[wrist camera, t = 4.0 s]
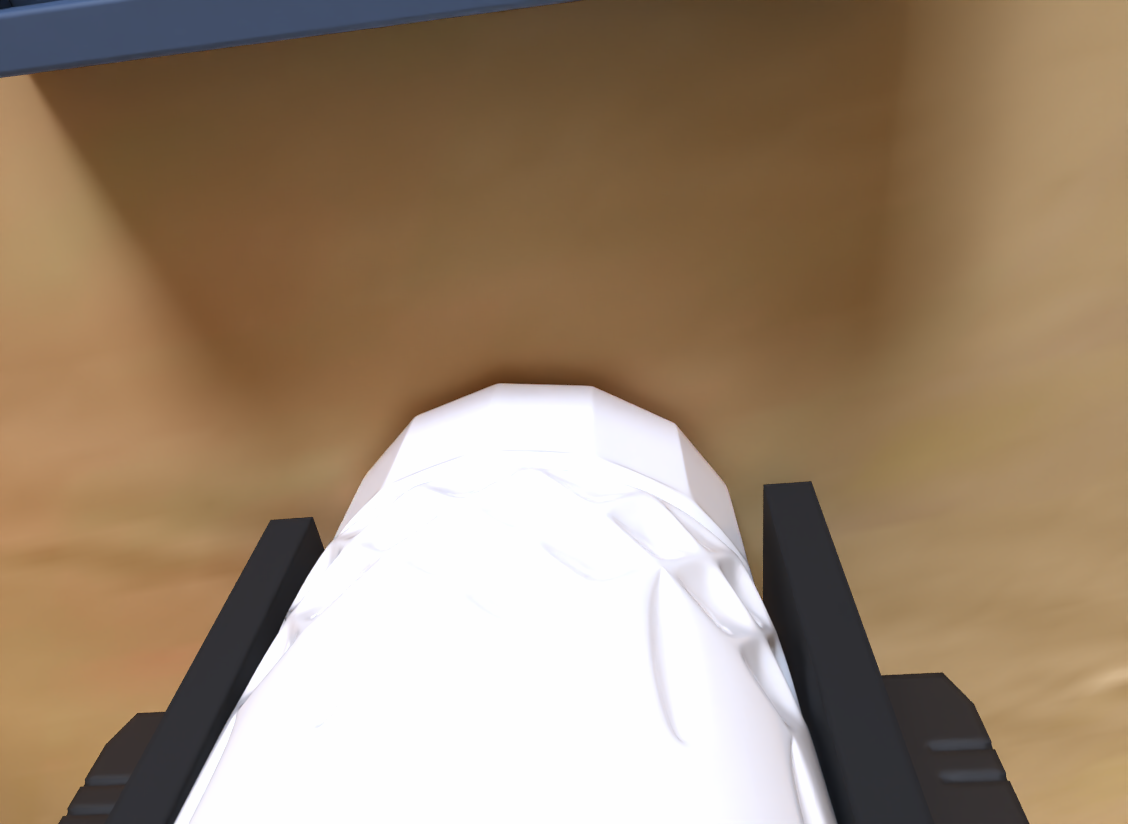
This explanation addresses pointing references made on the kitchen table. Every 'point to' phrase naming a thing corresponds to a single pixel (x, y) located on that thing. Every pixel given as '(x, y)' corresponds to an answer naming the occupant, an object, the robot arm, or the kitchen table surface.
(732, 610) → the white cup
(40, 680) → the kitchen table surface
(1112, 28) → the kitchen table surface
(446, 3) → the tray
